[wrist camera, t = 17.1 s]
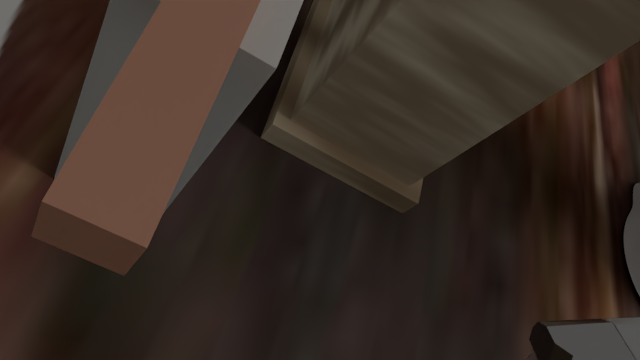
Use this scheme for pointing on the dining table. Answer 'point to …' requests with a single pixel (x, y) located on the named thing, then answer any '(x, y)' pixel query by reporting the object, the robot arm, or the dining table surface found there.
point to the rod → (143, 133)
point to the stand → (430, 80)
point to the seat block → (234, 95)
